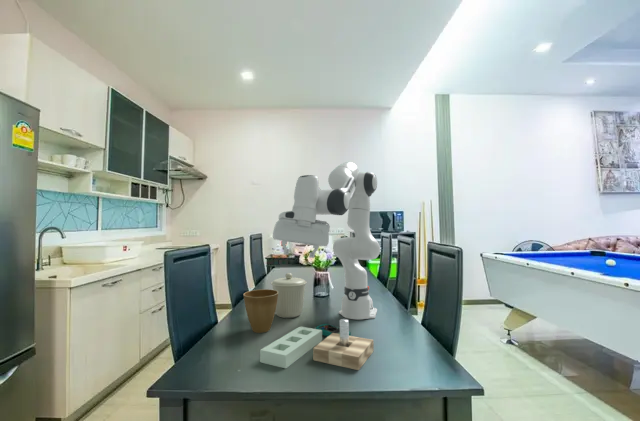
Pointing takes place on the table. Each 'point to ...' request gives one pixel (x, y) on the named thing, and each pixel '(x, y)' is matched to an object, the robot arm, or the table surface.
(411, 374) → the table surface
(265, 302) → the plant pot
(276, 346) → the block
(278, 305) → the canister
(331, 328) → the digital multimeter
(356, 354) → the socket block
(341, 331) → the steel peg
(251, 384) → the table surface
